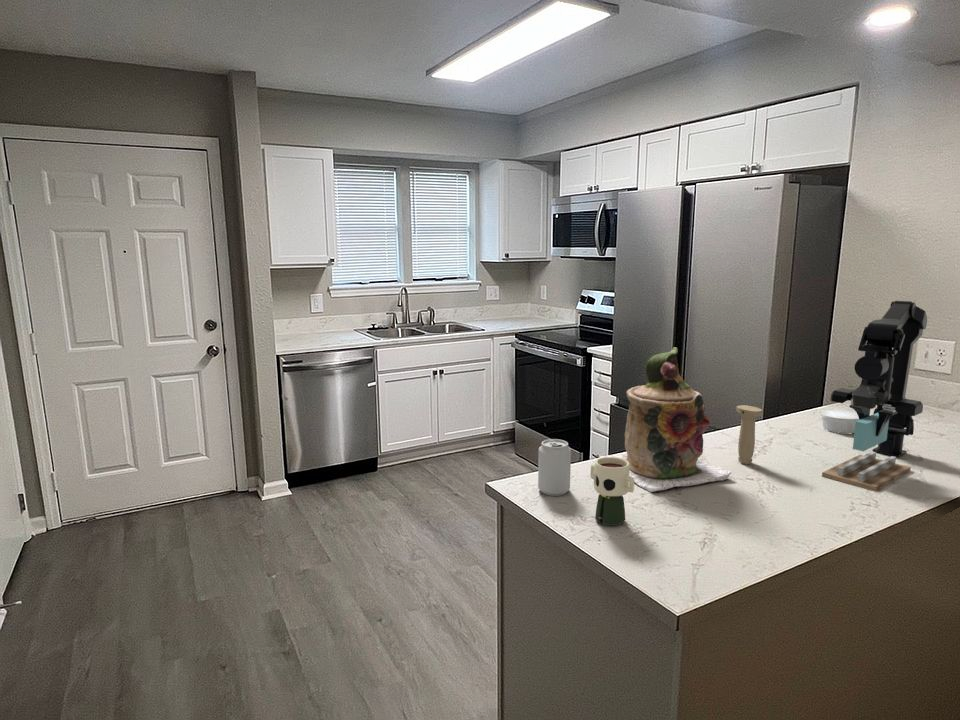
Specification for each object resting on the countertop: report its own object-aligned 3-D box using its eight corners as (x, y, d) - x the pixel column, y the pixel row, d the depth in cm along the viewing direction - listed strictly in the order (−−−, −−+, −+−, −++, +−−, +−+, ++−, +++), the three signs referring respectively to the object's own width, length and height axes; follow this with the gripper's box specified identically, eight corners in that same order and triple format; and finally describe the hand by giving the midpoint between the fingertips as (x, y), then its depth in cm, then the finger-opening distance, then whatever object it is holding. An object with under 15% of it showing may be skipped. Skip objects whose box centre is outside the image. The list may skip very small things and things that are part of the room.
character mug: (579, 517, 130) (580, 459, 127) (600, 508, 134) (602, 451, 132) (620, 535, 121) (623, 473, 119) (642, 525, 126) (644, 465, 124)
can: (549, 499, 139) (550, 449, 137) (532, 488, 145) (532, 440, 143) (576, 493, 142) (577, 444, 140) (558, 482, 149) (559, 435, 147)
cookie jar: (595, 462, 164) (599, 344, 158) (669, 450, 173) (675, 339, 167) (653, 495, 141) (660, 360, 135) (735, 480, 150) (745, 353, 144)
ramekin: (811, 427, 194) (813, 411, 193) (835, 423, 199) (836, 408, 198) (845, 437, 184) (847, 420, 183) (868, 432, 189) (870, 416, 188)
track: (859, 458, 166) (860, 447, 165) (910, 470, 156) (911, 459, 156) (821, 476, 153) (823, 464, 152) (875, 491, 143) (876, 478, 143)
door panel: (876, 438, 158) (879, 412, 157) (886, 440, 156) (889, 414, 155) (852, 448, 150) (855, 421, 149) (863, 451, 148) (866, 423, 147)
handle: (749, 468, 159) (753, 412, 156) (728, 460, 164) (732, 406, 161) (761, 464, 161) (766, 409, 158) (740, 457, 166) (744, 404, 164)
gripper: (823, 372, 152) (817, 431, 155) (909, 384, 138) (901, 450, 141) (843, 366, 159) (837, 424, 162) (927, 378, 144) (919, 441, 147)
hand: (871, 434), depth 153 cm, fingers closed on door panel, 2 cm apart
